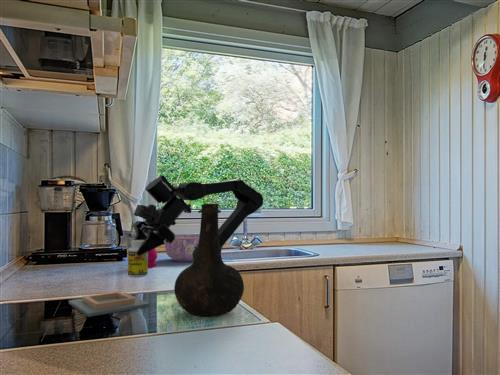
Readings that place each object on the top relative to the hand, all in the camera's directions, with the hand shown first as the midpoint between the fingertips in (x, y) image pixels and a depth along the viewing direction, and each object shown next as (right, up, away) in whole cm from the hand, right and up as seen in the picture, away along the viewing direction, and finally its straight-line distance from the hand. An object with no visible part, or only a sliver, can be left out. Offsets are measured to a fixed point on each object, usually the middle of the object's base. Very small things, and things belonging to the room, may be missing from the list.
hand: (133, 253), depth 114 cm
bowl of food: (+2, -16, +75) cm, 77 cm away
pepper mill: (-10, -15, +57) cm, 59 cm away
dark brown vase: (+23, -13, -13) cm, 29 cm away
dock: (-5, -13, -6) cm, 15 cm away
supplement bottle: (+1, -7, +1) cm, 7 cm away
